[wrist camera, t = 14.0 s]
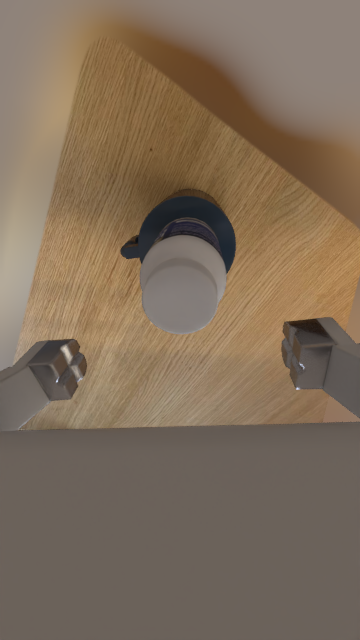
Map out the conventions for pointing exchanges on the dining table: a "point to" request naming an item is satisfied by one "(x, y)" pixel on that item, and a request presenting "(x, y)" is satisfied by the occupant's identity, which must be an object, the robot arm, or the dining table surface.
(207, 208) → the mug
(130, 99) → the dining table surface
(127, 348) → the dining table surface
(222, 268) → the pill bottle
